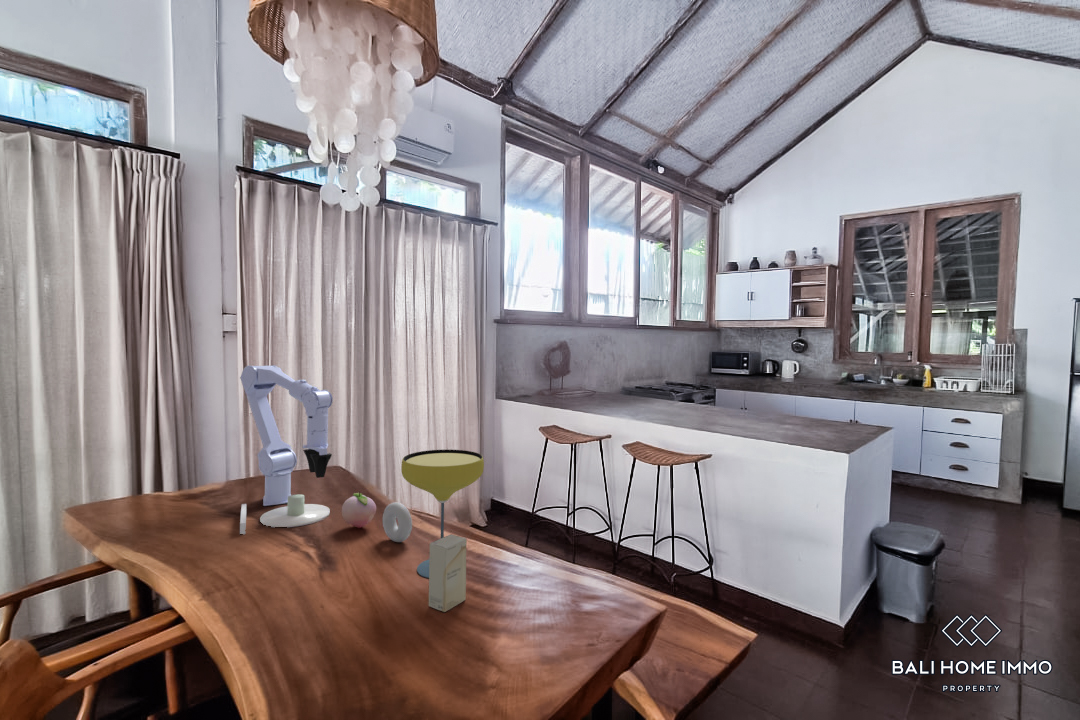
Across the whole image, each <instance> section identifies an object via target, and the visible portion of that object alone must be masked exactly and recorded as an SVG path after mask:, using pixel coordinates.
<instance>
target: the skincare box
mask: <svg viewBox="0 0 1080 720" xmlns="http://www.w3.org/2000/svg"><path fill="white" fill-rule="evenodd" d="M467 541H468V540H467V538H466V537H463V536H459V535H455V534H452V533H451V534H448V535H446V536H444V537H443V538H441V537H440V538H439V539H437V540H435V541H432V542H430V543H429V556H428V557H429V558H428V559H429V578H428V607H430V608H433V609H435V610H438V611H441V612H442V613H445V612H447V611H450V610H452V609H453V608H454V607H456V606H458V605H459V604H461V603H462V602H465V601H466V599H467V597H466V596H467V592H466V591H467Z"/></svg>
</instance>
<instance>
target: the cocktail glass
mask: <svg viewBox="0 0 1080 720" xmlns="http://www.w3.org/2000/svg"><path fill="white" fill-rule="evenodd" d="M400 467H401V469H400V471H401V476H402V478H403V479H405V481H406V482H408V483H409V484H410V485H412V486H413V487H415V488H418V489H420V490H422V491H425V492H427V493H429V494H431V495H433V497H434V499H436V500H437V502H438V503H441V505H440V507H441V508H440V511H441V512H440V539H441V538H443V537H445V535H444V534H445V530H444V529H445V528H444V526H445V523H444V522H445V503H447V502H448V501H449V500H450V498H451V497H452V495H453V494H455V493H457V492H458V491H460V490H463V489H465V488H466V487H468V486H470V485H472V484H474V483H475V482H476V481H478V480H479V479H480V477H481V476H482V475H483V473H484V469H485V461H484V457H483V455H482V454H480V453H479V452H475V451H471V450H463V449H431V450H423V451H417V452H412V453H409V454H406V455H405V456H404V457H403V458H402V459H401V466H400ZM416 571H417V572H416V573H417V574H418V575H419V576H420V577H423V578H426V579H429V558H428V559H426V560H424V561H422V562H420V563H419V564H418V566H417V567H416Z"/></svg>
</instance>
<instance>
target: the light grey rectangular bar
mask: <svg viewBox="0 0 1080 720" xmlns="http://www.w3.org/2000/svg"><path fill="white" fill-rule="evenodd" d="M240 507H241V509H240V519H239V521H240V522H239V535H240V534H243V535H246V531H245V530H246V529H247V528H246V527H247V526H246V525H247V503H241V506H240Z"/></svg>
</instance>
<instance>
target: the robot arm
mask: <svg viewBox="0 0 1080 720" xmlns="http://www.w3.org/2000/svg"><path fill="white" fill-rule="evenodd" d="M239 379H240V381H241V383H242V388H243V390H244V393H245V394H246V398H247V402H248V405H249V408H250V411H251V413H252V417H253V420H254V423H255V426H256V429H257V432H258V435H259V437H260V440H261V443H262V444H261V445H262V448H261V449H260V450H259V451H258V453H257V459H258V469H259V471H260V473H261V474H262V476H264V496H263V497H262V500H263V501H262V503H263V504H262V505H263V506H264V507H267V506H274V505H282V504H287V503H288V496H291V495H292V494H291V488H292V487H291V485H292V484H291V482H292V478H291V477H292V475H291V474H292V472H294V471H293V470H294V468H296V466H297V463H298V457H297V454H296V453H295V451H294V450H293V449H292V447H291V445H290V444H289V443H287V442H285V441H283V440H282V437H281V434H280V431H279V429H278V424H277V422H276V420H275V416H274V414H273V411H272V408H271V404H270V402H269V399H268V395H269V394H270V393H271V392H272V391H273V390H274V389H275V387H276V386H279V387H281V388H283V389H286V390H287V391H288V394H289V396H290V397H292V398H294V399H296V400H297V401H299V402H301V403H302V404H303V408H304V409H305V414H306V417H307V418H306V419H307V421H306V422H307V423H306V425H307V426H306V428H307V429H306V430H307V431H306V432H307V433H306V444H302V448H303V453H304V455H305V457H306V460H307V464H308V469H309V473H314V475H315V477H316V479H318V478H319V479H320V478H324V477H325V475H326V471H327V468H328V467H327V466H328V464H329V461H330V460H331V458H332V456H333V455H332V453H330V452H329V453H328V447H329V443H328V442H329V439H328V435H329V433H328V432H329V431H328V430H329V429H328V428H329V427H328V426H329V425H328V424H329V408H330V407H331V406H332V404H333V400H334V399H333V395H332V393H331V392H330V391H329V390H328V389H321V390H320V389H319V388H318V387H317V386H315V385H314V386H313V385H312V384H309V383H308V381H307V380H306V379H298V380H297V379H296V380H295V379H294V378H292V377H291V376H290V375H288V374H286V373H285V372H283V370H282V368H281V367H278V366H277V365H274V364H271V365H246V366H245V367H243V370H242V372H241V376H240V377H239Z"/></svg>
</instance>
